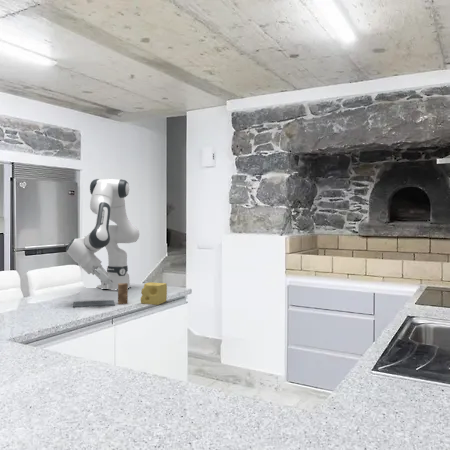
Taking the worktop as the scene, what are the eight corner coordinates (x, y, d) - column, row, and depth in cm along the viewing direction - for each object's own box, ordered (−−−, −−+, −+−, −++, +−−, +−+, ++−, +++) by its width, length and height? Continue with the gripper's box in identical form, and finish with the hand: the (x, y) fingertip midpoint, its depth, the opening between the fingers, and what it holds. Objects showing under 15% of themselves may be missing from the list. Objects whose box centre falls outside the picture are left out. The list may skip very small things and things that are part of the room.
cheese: (140, 303, 236) (140, 284, 236) (149, 300, 247) (150, 281, 246) (159, 305, 233) (159, 285, 233) (167, 301, 244) (167, 282, 243)
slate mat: (72, 307, 224) (72, 306, 224) (73, 302, 236) (73, 301, 236) (114, 305, 230) (114, 304, 230) (113, 301, 242) (113, 300, 242)
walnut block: (118, 304, 234) (118, 284, 233) (117, 302, 238) (118, 283, 238) (127, 303, 235) (127, 284, 235) (126, 302, 239) (126, 283, 239)
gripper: (98, 263, 222) (118, 283, 225) (97, 259, 242) (116, 277, 245) (88, 272, 221) (109, 292, 224) (88, 268, 241) (107, 286, 244)
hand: (112, 284), depth 235 cm, fingers open, 8 cm apart
